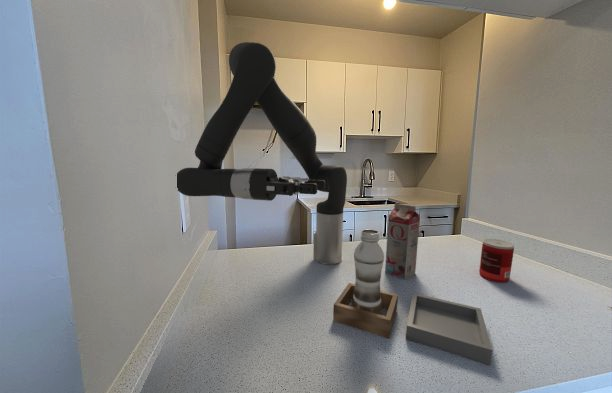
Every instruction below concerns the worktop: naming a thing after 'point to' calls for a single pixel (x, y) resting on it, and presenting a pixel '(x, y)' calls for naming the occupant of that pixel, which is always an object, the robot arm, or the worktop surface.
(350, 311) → the open wooden box
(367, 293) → the plastic bottle
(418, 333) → the tray
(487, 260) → the canned food
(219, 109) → the robot arm
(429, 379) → the worktop surface
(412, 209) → the juice carton
